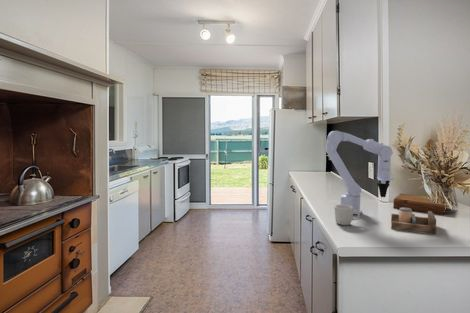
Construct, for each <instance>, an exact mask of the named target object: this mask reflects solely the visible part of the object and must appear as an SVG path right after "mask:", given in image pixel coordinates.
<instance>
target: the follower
mask: <svg viewBox="0 0 470 313" xmlns="http://www.w3.org/2000/svg"><path fill="white" fill-rule="evenodd" d="M415 215H416V214H415V213H412V224H416V218H415Z"/></svg>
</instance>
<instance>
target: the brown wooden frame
mask: <svg viewBox="0 0 470 313" xmlns="http://www.w3.org/2000/svg"><path fill="white" fill-rule="evenodd" d="M415 218H416V224H412V223H403V222H399V213H391V218H390V220H391V223H390V224H391V226H390V228H391V230H396V231H397V230H398V231H404V232H413V233H421V234H428V235H436V231H437V218H436V217H435V215H434V214H433V213H432V211H428V213H427V217H426V216H415Z"/></svg>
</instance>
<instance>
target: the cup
mask: <svg viewBox="0 0 470 313" xmlns="http://www.w3.org/2000/svg"><path fill="white" fill-rule="evenodd" d="M354 212H357V214H356V215H357V216H356V217H354V214H353V213H354ZM334 215H335V216H334V217H335V218H334V219H335V223H336V224H337V223H338V224H337V225H339V224H341V225H340V226H349V225H351V223H352V222H353V221H358V220H359V219H360V216H361V213H359V211H357V210H354V209H353V207H352V206H348V205H341V204H336V205H334Z"/></svg>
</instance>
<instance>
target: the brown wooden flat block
mask: <svg viewBox="0 0 470 313" xmlns="http://www.w3.org/2000/svg"><path fill="white" fill-rule="evenodd" d="M427 197H428V196H425V195H417V194H416V195H415V194H406V193H399V194H398V195H397V196H395V197H394V198H393V209H396V208H397V209H398V210H399V209H400V208H401V207H405V208H410V209H412V212H418V211H419V212H420V213H426V212H428V211H432V213H435V215H440V214H442V215H441V216H445V214H444V211H445V207H446V205H444V204H439V203H434V202H431V201H429V200H428V199H427Z"/></svg>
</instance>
